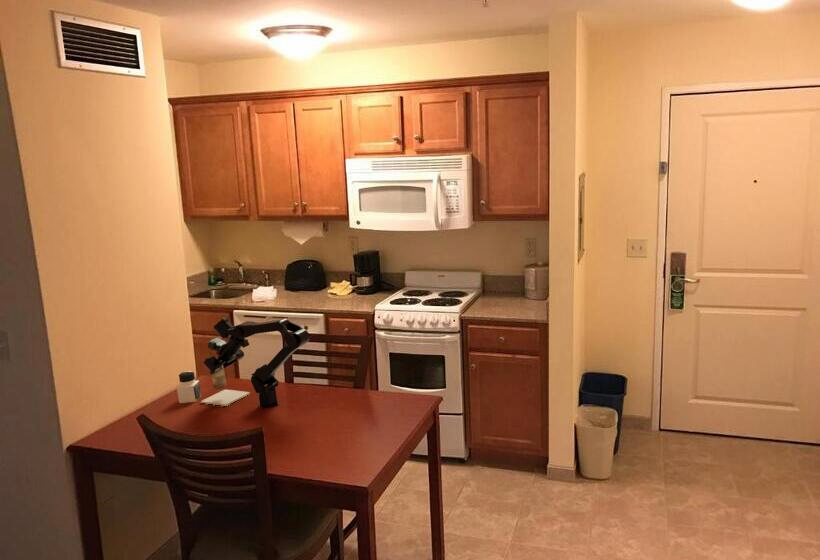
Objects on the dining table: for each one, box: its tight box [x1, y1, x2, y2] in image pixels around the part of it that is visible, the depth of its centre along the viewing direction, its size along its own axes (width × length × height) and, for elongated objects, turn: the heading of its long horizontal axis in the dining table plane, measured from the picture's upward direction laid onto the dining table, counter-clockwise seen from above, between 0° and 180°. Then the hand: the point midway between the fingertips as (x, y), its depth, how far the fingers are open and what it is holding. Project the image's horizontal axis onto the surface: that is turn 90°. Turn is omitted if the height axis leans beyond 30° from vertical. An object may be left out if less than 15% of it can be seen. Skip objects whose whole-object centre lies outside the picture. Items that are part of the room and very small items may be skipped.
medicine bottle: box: [176, 370, 202, 404], centre depth 278 cm, size 7×7×12 cm
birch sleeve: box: [211, 365, 228, 390], centre depth 271 cm, size 5×5×11 cm
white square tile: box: [200, 388, 251, 407], centre depth 275 cm, size 14×14×1 cm
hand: (215, 371), depth 272 cm, fingers closed on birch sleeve, 5 cm apart
